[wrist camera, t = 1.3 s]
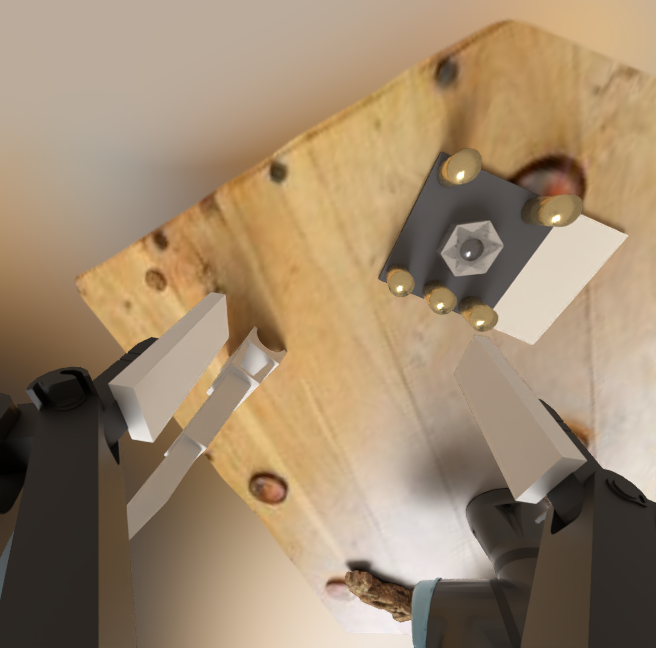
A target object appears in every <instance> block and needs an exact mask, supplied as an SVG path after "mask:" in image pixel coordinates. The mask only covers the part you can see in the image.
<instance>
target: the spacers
mask: <svg viewBox="0 0 656 648" xmlns="http://www.w3.org/2000/svg"><path fill="white" fill-rule="evenodd" d="M481 167H482V158H481V155H480V153H479V152H478V151H477V150H475V149H472V148H466V149H463V150H461V151H459V152H457V153H456V154H454V155H453V156H451V157H450V158H448V159H446V160H445V161H443V162H442V163H441V165H440V166H439V168H438V170H437V181H438V183H439V184H440V185H441V186H443V187H446V188H449V187H453V186H457V185H461V184H465V183H468V182H470V181H472V180H473V179H474V178H475V177H476V176H477V175H478V174H479V172H480V170H481ZM582 209H583V202H582V200H581V198H580V197H579V196H577V195H574V194H567V195H554V196H542V197H535V198H532V199H530V200H529V201H528V202H526V204H525V205H524V206H523V208H522V210H521V218H522V220H523V222H524V223H526V224H529V225H541V226H553V227H564V226H567V225H569V224H571V223H573V222H574V221H575V220H576V219H577V218H578V217H579V216H580V214H581V212H582ZM386 280H387V283H388V286H389V289H390V291H391V293H392V294H393V295H395V296H397V297H404V296H407V295H409V294H410V293H411V292H412V291H413V289H414V286H415V281H414V279H413V277H412V276H411V274H410V273H409V271H408V270H407V269H406V267H405V266H403V265H400V264H396V265H393V266H391V267H390V268H389V269H388V270H387V272H386ZM422 295H423V297H424V298H425V300H426V301H427V303H428V304H429V306H430V307H431V309H432V310H433V311H434V312H435V313H437V314H447V313H449V312H451V311H452V310H453V309H454V308H455V306H456V304H457V298H456V296H455V295H454V294H453V293H452V292H451V291H450V290H449V289H448V288H447V287H446V286H445V285H444V284H443V283H442V282H440V281H437V280H432V281H429V282H428V283H426V284H425V285H424V287H423V289H422ZM458 311H459V313H460V314H461V315H462V316H463V317H464V318H465V319H466V320H467V321H468V322H469V324H470V325H471V326H472V327H473V328H474V329H475V330H477V331H481V332H484V331H488V330H491V329H492V328H494V327H495V326H496V324H497V322H498V314H497V313H496V312H495V311H494V310H493V309H492V308H490V307H489V306H488V305H486V304H485V303H484V302H483V301H481V300H480V299H479V298H477V297H475V296H468V297H465V298H463V299H462V300H461V301H460V303H459V305H458Z"/></svg>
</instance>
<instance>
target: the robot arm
mask: <svg viewBox="0 0 656 648" xmlns="http://www.w3.org/2000/svg"><path fill="white" fill-rule="evenodd" d="M228 338H229V331H228V318H227V305H226V295H225V294H219V293H213V292H211V293H210V294H208V295H207V296H206V297H205V298H204V299H203V300H202V301H201V302H199V303H198V304H197V305H196V306H195V307H194V308H193V309H192V310H190V311H189V312H188V313H187V314H186V315H185V316H184V317H183V318H181V319H180V320H179V321H178V322H177V323H176V324H175V325H174V326H172V327H171V328H170V329H169V330H168V331H167V332H166V333H165V334H163V335H162V336H161V337H160V338H153V337H151V338H149V339H147V340H144V341H142V342H140V343H138V344H137V345H136V346H134V347H133V348H132V349H131V350H130V351H128V354H127V353H126V354H125V355H124V356H122V357H121V358H120V360H119V361H116V362H115V363H114V364H113V365H111V366H110V367H109V368H108V369H107V370H105V371H104V372H103V373H102V374H101V375H99V376H98V377H97V378H96V379H94V380H93V381H92V379H91V377H90V375H89V373H88V371H87V370H86V369H83V368H81V367H67V368H61V369H58V370H55V371H51V372H48V373H46V374H44V375H42V376H40V377H38V378H37V379H36V380H34V381H33V382H32V383H30V385H29V386H28V388H27V389H26V392H27V393H28V395H29V397H30V398H31V399H32V401H33V402H34V403H28V404H18V405H16V404H15V402H14V401H13V400H12V398H11V397H10V396H9V395H6V394H3V393H0V557H1V555H2V553H3V551H4V549H5V547H6V545H7V543H8V541H9V539H10V537H11V535H12V533H13V531H14V529H15V531H14V535H13V540H12V545H11V550H10V555H9V560H8V565H7V570H6V575H5V579H4V584H3V589H2V594H1V599H0V648H137V640H136V626H135V613H134V601H133V587H132V573H131V560H130V547H129V532H128V519H127V505H126V492H125V479H124V465H123V452H122V443H121V440H120V437H121V436H122V435H123V434H124V433H125V431H126V430H127V429H128V431H129V433H130V435H131V438H132V439H135V440H141V441H147V442H154V441H155V439H156V438H157V437H158V435H159V434H160V432H161V431H162V430H163V428H164V427H165V426H166V424H167V423H168V421H169V420H170V419H171V417H172V416H173V415H174V413H175V412H176V410H177V409H178V408H179V406H180V405H181V403H182V402H183V401H184V399H185V398H186V397H187V395H188V394H189V392H190V391H191V390H192V388H193V387H194V385H195V384H196V383H197V381H198V380H199V379H200V377H201V376H202V374H203V373H204V372H205V370H206V369H207V367H208V366H209V365H210V363H211V362H212V361H213V359H214V358H215V356H216V355H217V354H218V352H219V351H220V349H221V348H222V347H223V345H224V344H225V342H226V341H227V340H228ZM454 376H455V378H456V380H457V382H458V384H459V386H460V388H461V390H462V392H463V394H464V396H465V398H466V400H467V402H468V404H469V407H470V409H471V411H472V413H473V415H474V417H475V419H476V421H477V423H478V425H479V427H480V429H481V431H482V433H483V435H484V437H485V439H486V442H487V444H488V446H489V448H490V450H491V452H492V454H493V456H494V458H495V460H496V462H497V464H498V466H499V468H500V470H501V472H502V474H503V476H504V479H505V481H506V483H507V485H508V487H509V489H499V490H493V491H490V492H487V493H484V494H482V495H480V496H478V497H476V498H475V499H474V500H473V501H472V502H471V503H470V504H469V505H468V507H467V510H466V517H467V520H468V523H469V526H470V529H471V531H472V533H473V535H474V536H475V537H476V538H477V540H478V542H479V544H480V545H481V547H482V548H483V550H484V551H485V553H486V555H487V556H488V558H489V559H490V561H491V562H492V564H493V566H494V569H495V572H496V575H497V577H498V579H442V578H436V579H435V580H425V581H420V582H418V583H417V585H416V586H415V589H414V591H413V596H412V613H411V614H412V639H413V645H414V648H656V503H655V502H653V501H651V500H648V499H647V498H646V496H645V495H644V494H643V493H642V492H641V491H640V490H639V489H638V488H637V487H636V486H635V485H634V484H633V483H631V482H630V481H628V480H627V479H625V478H624V477H622V476H621V475H619V474H617V473H615V472H613V471H610V470H606V469H603V468H602V467H601V466H600V465H599V464H598V462H597V461H596V460H595V459H594V457H593V456H592V455H591V454H590V453H589V451H588V450H587V449H586V448H585V447H584V445H583V444H582V443H581V442H580V441H579V439H578V438H577V437H576V436H575V435H574V433H571V430H570V428H569V427H568V426H567V425H566V424H565V423H563V420H562V419H561V418H560V416H559V415H558V414H557V413H556V412H555V410H554V409H552V408H551V407H550V406H549V405H548V404H546V403H545V402H544V401H543V400H541V399H538V398H537V397H536V396H535V394H534V393H533V392H532V391H531V389H530V388H529V387H528V386H527V384H526V383H525V382H524V381H523V379H522V378H521V377H520V376H519V374H518V373H517V372H516V371H515V369H514V368H513V367H512V366H511V364H510V363H509V362H508V361H507V359H506V358H505V357H504V356H503V354H502V353H501V352H500V351H499V349H498V348H497V347H496V346H495V344H494V343H493V342H492V340H491V339H490V338H489V337H484V336H478V335H474V337H473V339H472V340H471V342H470V344H469V346H468V348H467V350H466V352H465V354H464V355H463V357H462V359H461V361H460V363H459V365H458V367H457V369H456V370H455V372H454ZM546 495H547V497H548V498H549V500H550V502H551V503H552V506H551V507H549V506H548V504H547V503H546V501H545V500H544V499H543V498H544V497H545V496H546Z"/></svg>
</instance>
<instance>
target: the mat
mask: <svg viewBox="0 0 656 648" xmlns="http://www.w3.org/2000/svg"><path fill="white" fill-rule="evenodd" d="M450 157H451V156H450V155H448V154H446V153H444V152H440V154H439V156H438V158H437V160H436V162H435V164H434V166H433V168H432V170H431V173H430V175H429V177H428V179H427V181H426V183H425V185H424V187H423V189H422V191H421V193H420V195H419V197H418V199H417V201H416V203H415V205H414V207H413V209H412V211H411V213H410V215H409V217H408V219H407V221H406V224H405V226H404V228H403V230H402V232H401V234H400V236H399V238H398V240H397V242H396V244H395V246H394V248H393V250H392V252H391V254H390V256H389V258H388V260H387V262H386V264H385V266H384V268H383V270H382V272H381V274H380V277H379V280H381V281H383V282H386V283H387V280H386V272H387V270H388V269H389V268H390V267H391V266H393V265H396V264H400V265H403V266H405V267H406V269H407V270H408V271H409V273H410V274H411V276H412V277H413V279H414V281H415V286H414V289H413V291H412V292H411V294H414V295H416V296H419V297H421V298H423V299H425V298H424V297H423V295H422V289H423V287H424V285H425V284H426V283H428V282H429V281H432V280H437V281H440V282H442V283H443V284H444V285H445V286H446V287H447V288H448V289H449V290H450V291H451V292H452V293H453V294H454V295H455V296H456V298H457V304H456V306H455V308H454V309H453V310H452V311H454V312H456V313H458V314H460V313H459V311H458V305H459V303H460V301H461V300H462V299H463V298H465V297H468V296H475V297H477V298H479V299H480V300H481V301H483V302H484V303H485V304H486V305H488V306H489V307H490V308H492V309H493V310H494V311H495V312H496V313H497V314H498V322H497V324H496V326H495V327H494V329H496V330H498V331H501V332H503V333H505V334H508V335H510V336H512V337H515V338H517V339H520V340H522V341H524V342H527V343H529V344H531V345H534V344H535V342H536V341H537V340H538V339H539V338H540V337H541V336H542V334H543V333H544V332H545V331H546V330H547V329H548V328H549V326H550V325H551V324H552V323H553V322H554V321H555V320H556V318H557V317H558V316H559V315H560V314H561V313H562V311H563V310H564V309H565V308H566V307H567V306H568V305H569V303H570V302H571V301H572V300H573V299H574V298H575V297H576V295H577V294H578V293H579V292H580V291H581V290H582V289H583V287H584V286H585V285H586V284H587V283H588V282H589V280H590V279H591V278H592V277H593V276H594V275H595V274H596V272H597V271H598V270H599V269H600V268H601V267H602V266H603V264H604V263H605V262H606V261H607V260H608V259H609V257H610V256H611V255H612V254H613V253H614V252H615V251H616V249H617V248H618V247H619V246H620V245H621V244H622V243H623V241H624V240H625V239H626V238H627V237H628V235H626V234H624V233H622V232H619V231H617V230H615V229H613V228H611V227H608V226H606V225H604V224H602V223H599V222H597V221H595V220H593V219H591V218H588V217H586V216H584V215H582V214H580V216H579V217H578V218H577V219H576V220H575V221H574V222H573V223H571V224H569V225H567V226H564V227H553V226H541V225H529V224H526V223H524V222H523V220H522V218H521V210H522V208H523V206H524V205H525V204H526V202H528V201H529V200H530V199H532V198H535V197H542V196H539V195H537V194H535V193H533V192H531V191H528V190H526V189H524V188H522V187H519V186H517V185H515V184H513V183H511V182H508V181H506V180H504V179H502V178H499V177H497V176H495V175H493V174H491V173H488V172H486V171H484V170H482V169H481V170H480V172H479V174H478V175H477V176H476V177H475V178H474V179H473V180H472V181H470V182H468V183H465V184H461V185H457V186H453V187H449V188H446V187H443V186H441V185H440V184H439V183H438V181H437V170H438V168H439V166H440V165H441V163H442V162H443V161H445V160H446V159H448V158H450ZM477 220H488V221H490V222H491V223H492V225H493V227H494V229H495V231H496V232H497V234H498V236H499V238H500V240H501V241H502V243H503V245H504V246H503V248H502V249H501V251H500V252H499V254H498V255H497V257H496V258H495V260H494V261H493V263H492V264H491V266H490V267H489V269H488V270H487V272H486V273H483V274H473V275H464V276H454V275H452V274H451V273H450V272H449V271H448V270H447V268H446V266H445V265H444V263H443V262H442V260H441V259H440V257H439V255H438V254H437V252H436V249H437V247H438V246H439V244H440V242H441V240H442V239H443V237H444V235H445V233H446V231H447V230H448V228H449V226H450V224H456V223H463V222H470V221H477Z"/></svg>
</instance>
